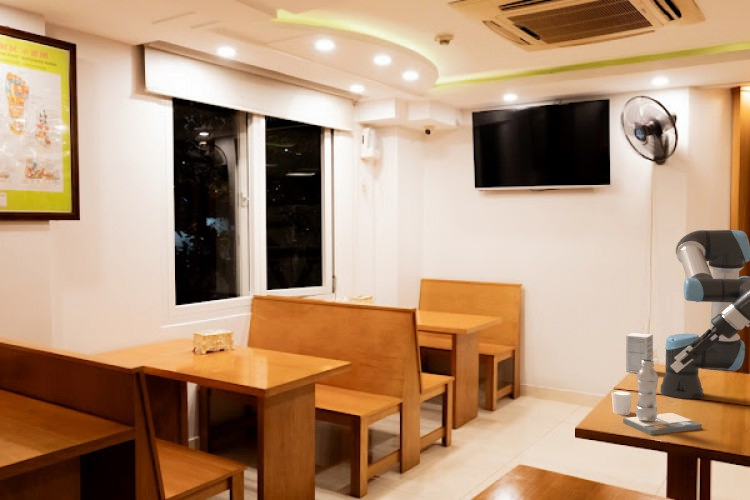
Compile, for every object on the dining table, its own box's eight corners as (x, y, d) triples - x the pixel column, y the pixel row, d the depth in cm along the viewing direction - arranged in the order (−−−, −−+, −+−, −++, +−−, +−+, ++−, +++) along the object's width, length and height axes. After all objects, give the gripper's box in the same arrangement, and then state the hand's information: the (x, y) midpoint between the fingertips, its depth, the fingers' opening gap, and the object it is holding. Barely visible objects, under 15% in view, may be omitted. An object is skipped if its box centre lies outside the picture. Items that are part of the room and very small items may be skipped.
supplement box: (653, 371, 286) (654, 334, 286) (647, 375, 279) (648, 337, 279) (631, 368, 292) (632, 332, 292) (625, 372, 285) (625, 334, 285)
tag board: (671, 417, 218) (671, 412, 218) (701, 428, 206) (701, 423, 205) (623, 422, 212) (623, 417, 212) (650, 435, 200) (650, 429, 200)
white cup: (633, 415, 220) (633, 396, 220) (612, 414, 221) (613, 395, 221) (629, 410, 226) (630, 390, 226) (609, 409, 228) (609, 390, 228)
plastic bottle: (631, 418, 211) (632, 358, 211) (651, 417, 212) (652, 358, 211) (641, 424, 205) (642, 362, 204) (661, 423, 206) (662, 362, 205)
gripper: (739, 337, 183) (681, 382, 191) (739, 325, 205) (687, 366, 213) (718, 318, 186) (662, 363, 194) (721, 307, 207) (670, 349, 215)
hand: (675, 365), depth 203 cm, fingers open, 13 cm apart
